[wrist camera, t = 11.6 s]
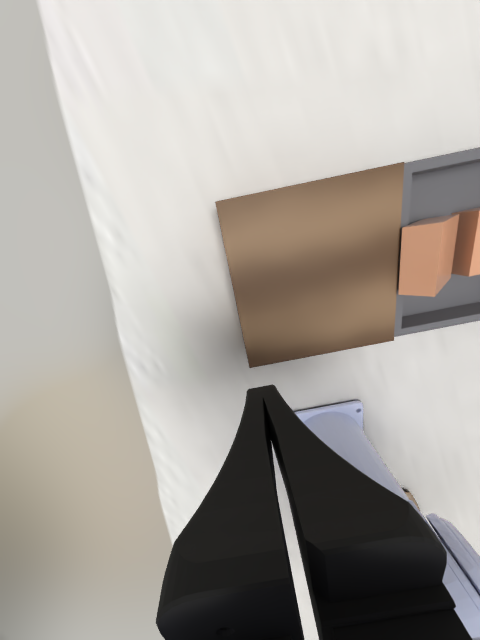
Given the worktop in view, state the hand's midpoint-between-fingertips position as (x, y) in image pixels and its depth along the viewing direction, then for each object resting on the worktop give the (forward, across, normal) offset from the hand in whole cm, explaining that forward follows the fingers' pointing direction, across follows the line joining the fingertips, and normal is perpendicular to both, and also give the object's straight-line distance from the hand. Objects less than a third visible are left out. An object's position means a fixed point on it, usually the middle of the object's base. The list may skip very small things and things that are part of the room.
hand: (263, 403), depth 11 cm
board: (+9, -5, -4) cm, 11 cm away
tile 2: (+8, -13, -4) cm, 15 cm away
